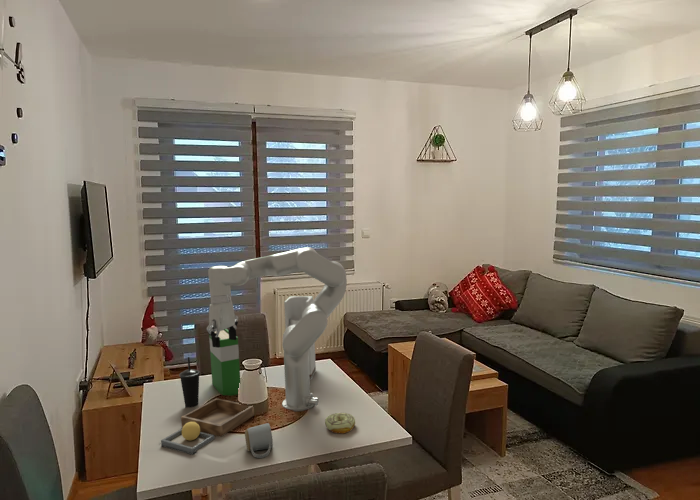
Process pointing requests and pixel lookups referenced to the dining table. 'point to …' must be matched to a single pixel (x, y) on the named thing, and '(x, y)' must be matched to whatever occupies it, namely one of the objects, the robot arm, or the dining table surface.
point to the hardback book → (225, 364)
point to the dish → (184, 448)
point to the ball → (190, 431)
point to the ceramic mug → (259, 439)
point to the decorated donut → (340, 422)
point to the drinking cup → (190, 386)
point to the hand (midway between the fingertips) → (224, 343)
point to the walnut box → (218, 416)
